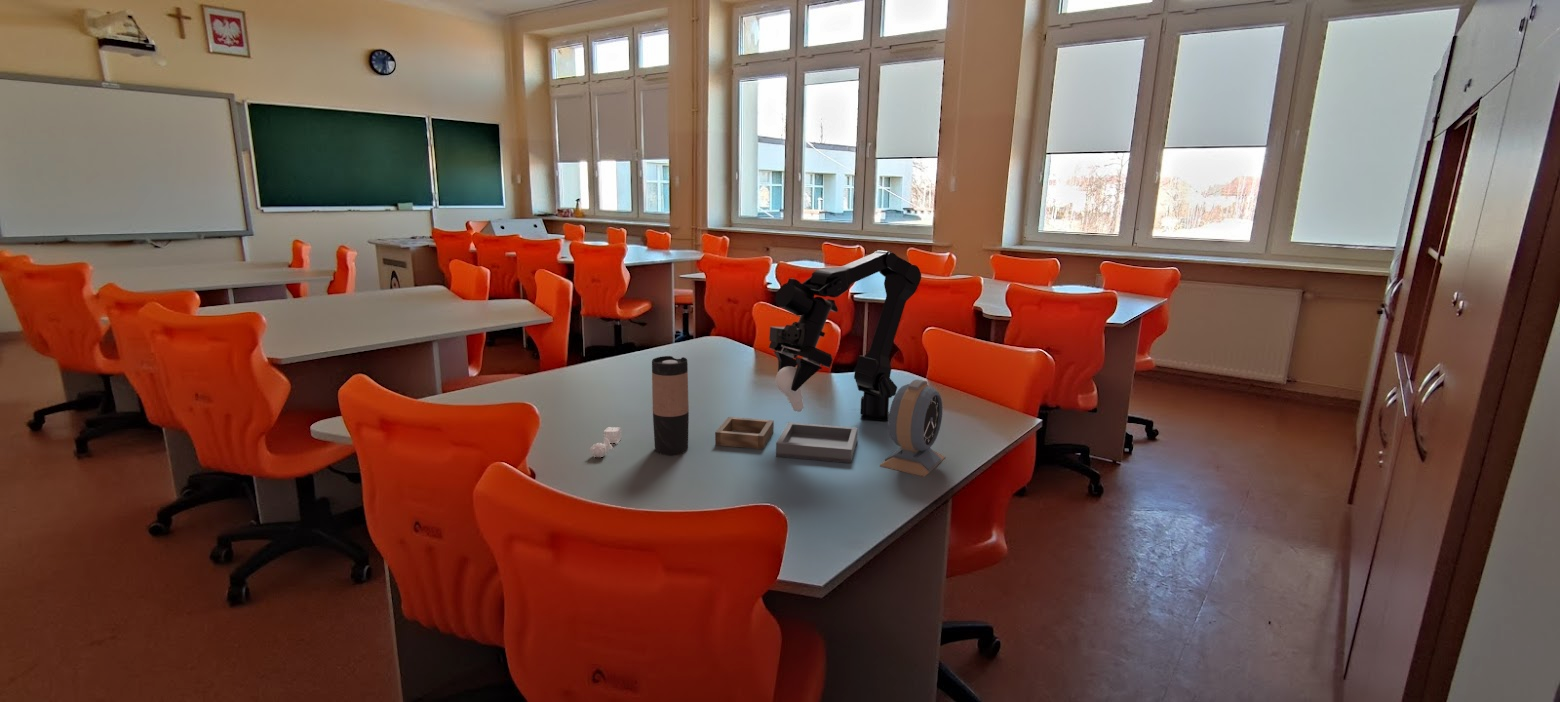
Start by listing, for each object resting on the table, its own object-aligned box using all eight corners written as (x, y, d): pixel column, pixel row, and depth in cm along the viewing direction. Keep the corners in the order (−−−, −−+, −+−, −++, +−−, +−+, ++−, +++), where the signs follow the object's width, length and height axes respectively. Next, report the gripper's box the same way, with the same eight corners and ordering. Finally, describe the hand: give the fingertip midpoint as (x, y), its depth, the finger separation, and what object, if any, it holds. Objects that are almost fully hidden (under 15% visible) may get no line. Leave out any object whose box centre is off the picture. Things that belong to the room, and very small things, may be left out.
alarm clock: (922, 478, 139) (928, 393, 135) (877, 467, 144) (881, 385, 140) (946, 456, 151) (952, 377, 147) (904, 446, 156) (908, 370, 152)
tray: (857, 440, 160) (857, 427, 159) (851, 463, 146) (851, 449, 146) (788, 434, 163) (788, 422, 162) (775, 456, 149) (776, 443, 149)
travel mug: (660, 457, 148) (657, 365, 143) (649, 446, 154) (646, 357, 150) (694, 452, 151) (693, 362, 146) (682, 440, 158) (680, 354, 153)
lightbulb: (815, 403, 160) (801, 359, 157) (808, 415, 155) (794, 370, 151) (790, 407, 162) (776, 364, 159) (783, 419, 157) (768, 375, 154)
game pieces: (607, 440, 158) (607, 426, 157) (622, 440, 158) (621, 427, 157) (589, 460, 146) (588, 445, 146) (604, 460, 146) (604, 446, 145)
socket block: (773, 432, 164) (773, 420, 163) (763, 449, 153) (763, 436, 153) (728, 428, 166) (728, 416, 165) (715, 445, 155) (715, 432, 155)
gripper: (763, 306, 161) (738, 369, 160) (804, 313, 145) (776, 383, 144) (801, 324, 167) (777, 385, 166) (845, 332, 150) (818, 400, 149)
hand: (786, 388), depth 156 cm, fingers closed on lightbulb, 6 cm apart
